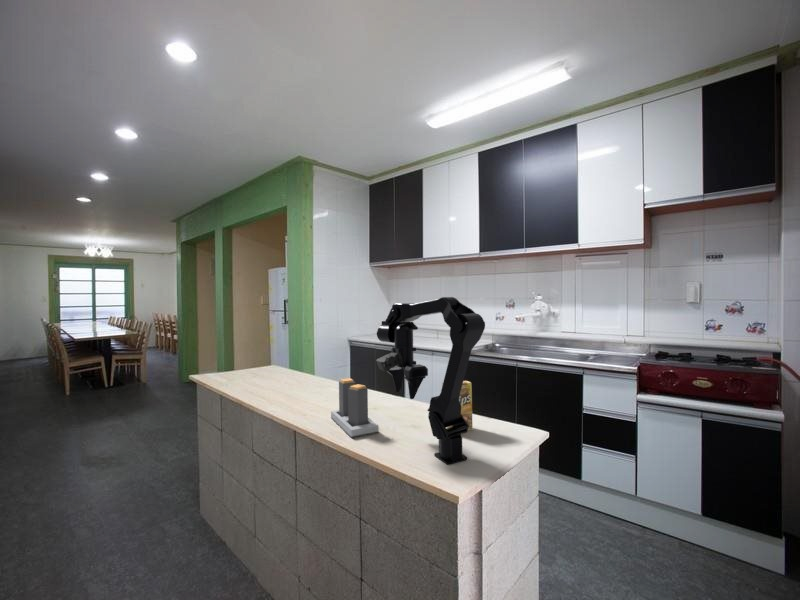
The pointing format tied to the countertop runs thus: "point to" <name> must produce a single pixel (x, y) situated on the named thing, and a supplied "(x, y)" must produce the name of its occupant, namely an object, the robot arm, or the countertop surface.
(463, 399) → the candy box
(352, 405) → the orange grey tall block
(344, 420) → the light grey recessed block
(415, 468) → the countertop surface
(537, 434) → the countertop surface
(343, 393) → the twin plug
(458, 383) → the robot arm
